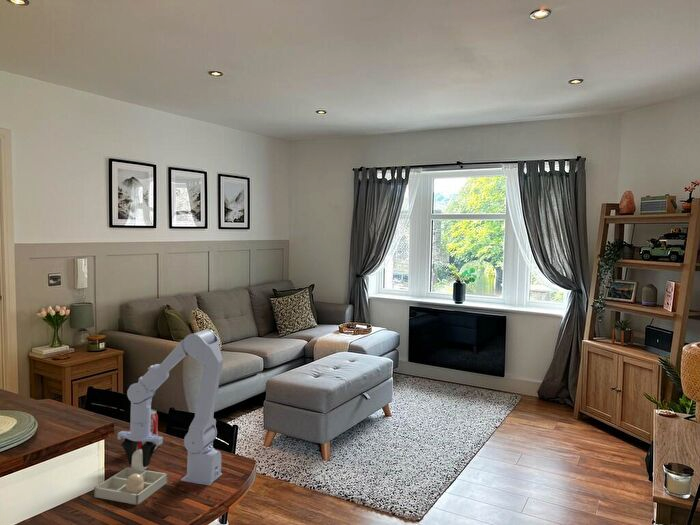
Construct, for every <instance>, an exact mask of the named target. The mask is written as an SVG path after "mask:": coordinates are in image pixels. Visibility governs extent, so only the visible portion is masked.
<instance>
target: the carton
mask: <svg viewBox="0 0 700 525" xmlns="http://www.w3.org/2000/svg"><path fill="white" fill-rule="evenodd" d="M135 473H137V474H140V475H142V477H143V479H144V487H143V491H141V492H140V493H139V494H132V493H127V492H126V481H127V479H128V477H129V476H130V475H132V474H135ZM167 483H168V473H165V472H160V471H159V472H158V471H152V470H148V469H145V470H142V469H136V468H131V467H130V466H129V467H128V466H127V467H125V468H123V469H122V470H120V471H118V472H117V473H115V474H114V475H112V476H111V477H109V478H108V479H106V480H104V481H103V482H101V483H99V484H98V485H95V486H94V488H93V489H94V491H93V494H94V496H93V498H99V499H104V500H110V501H115V502H120V503H126V504H129V505H136V506H138V505H139V504H141V503H142V502H143V501H145V500H146V499H147V498H149V497H151V495H153V494H154V493H155V492H157V491H158V490H159V489H161V488H162V487H163V486H164V485H167Z"/></svg>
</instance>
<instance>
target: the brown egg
mask: <svg viewBox="0 0 700 525" xmlns="http://www.w3.org/2000/svg"><path fill="white" fill-rule="evenodd" d="M143 487H144V479H143V477H142V475H140V474H137V473H135V474H132V475H130V476H129V477H128V479H127V481H126V492H127V493H132V494H139V493H140V492H141V491H143Z"/></svg>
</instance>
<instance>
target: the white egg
mask: <svg viewBox="0 0 700 525" xmlns="http://www.w3.org/2000/svg"><path fill="white" fill-rule="evenodd" d="M130 468H136V469H142V470H147V468H148V466H146V467H143V453H142V449H139V450H136V451H135V452H134V453H133V455H132V464H131V467H130Z"/></svg>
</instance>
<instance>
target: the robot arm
mask: <svg viewBox="0 0 700 525" xmlns="http://www.w3.org/2000/svg"><path fill="white" fill-rule="evenodd" d="M219 343H220V338H219V337H218V335H216V334H215V332H214V331H213V330H212V329H207V328H206V329H202V330H200V331H197V332H194V333H190V334H187V335H186V336H185V337H184V339H182V340H180V341H179V342H178V344H177V345H176V346H175V347H174V348H173V350H172V351H170V353H169V354H168V355H167V356H166V358H164V360H162V362H160V363H156V364H152V365H149V367H147V372H145V373H144V374H143V375H142V376H140V377H139V378H138V379H137V380H138V381H137V382H136V383H135V382H134V383H132V384H130V385H129V387H128V389H127V391H126V392H127V393H126V395H127V398H128V400H129V401H130V422H129V424H130V425H129V426H130V427H129V430H128V431H126V430H121V431H119V432H117V440H123V441H122V442H121V446H122V448H123V450H124V451H125V453H126V457H127V461H128V464H129V465H131V466H132V455H133V453H134V452H135V451H136V449H137V444H138V441H140V442H146V444H144V445H142V446H141V449H142V453H143V467H146V466H147V467H148V466H149V465H150V463H151V459H152V456H153V454H154V452H155V451H154V449H155V447H156V446H157V447H158V446H160V445H162V444H163V442H164V441H163V440H164V437H163V436H160V435H158V436H157V435H155V434H152V433H151V431H150V422H151V409H152V402H153V401H152V400H153V397H154V396H155V394H156V391H157V389H159V387H161V385H163V383H165V382H166V380H168V379H169V377H170V371H171V370H172V369H173V368H174V367H175V366H177V364H178V363H179V362H181V361H182V360H183V359H184V358H185V357H187V356H190V357H192V358H194V359H195V360H196V361H198V362H199V363H200V364H201V366H202V372H201V378H200V385H199V389H198V390H199V391H198V395H197V396H198V397H197V401H196V406H195V413H194V417H193V419H192V421H191V423H190V425H189V427H188V432H187V433H186V434H185V436H184V438H183V445H184V447H185V449H186V450H187V460H186V461H187V464H186V474H185V476H184V477H182V478H181V479H180V481H181V482H187V483H193V484H198V485H205V486H211V485H212V484H213V483H214V482H215V481H216V480H217V479H218V478H220V477H221V476H222V475H223V473H222V453H221V451H220V450H216V449H215V448H214V441H215V440H216V438H217V435H218V430H217V427H216V425H217V420H216V418H214V415H215V414H214V413H215V408H216V404H217V403H216V402H217V397H218V392H219V387H220V386H219V385H220V380H221V375H222V370H223V362H224V359H223V355H222V351H221V348H220V345H219ZM155 450H156V449H155Z"/></svg>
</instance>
